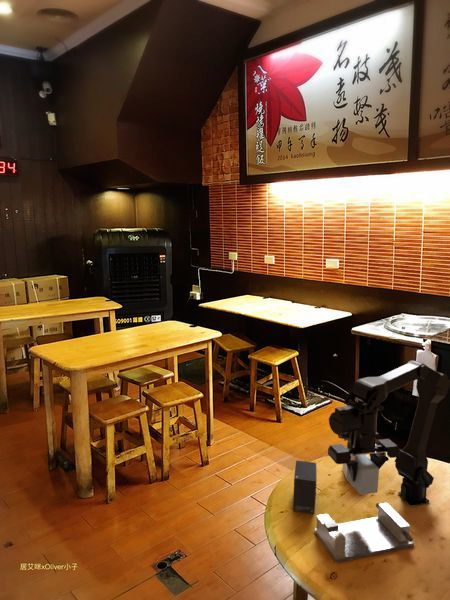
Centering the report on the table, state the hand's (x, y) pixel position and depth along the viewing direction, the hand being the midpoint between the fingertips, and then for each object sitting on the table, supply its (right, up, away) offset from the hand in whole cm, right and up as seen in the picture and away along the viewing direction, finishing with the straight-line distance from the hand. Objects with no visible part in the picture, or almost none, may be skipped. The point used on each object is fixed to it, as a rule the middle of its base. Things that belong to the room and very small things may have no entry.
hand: (362, 479), depth 131 cm
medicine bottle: (+5, -8, +24) cm, 26 cm away
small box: (-14, -11, +10) cm, 20 cm away
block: (0, -2, 0) cm, 2 cm away
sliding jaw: (+7, -12, -4) cm, 14 cm away
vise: (-1, -13, -6) cm, 15 cm away
